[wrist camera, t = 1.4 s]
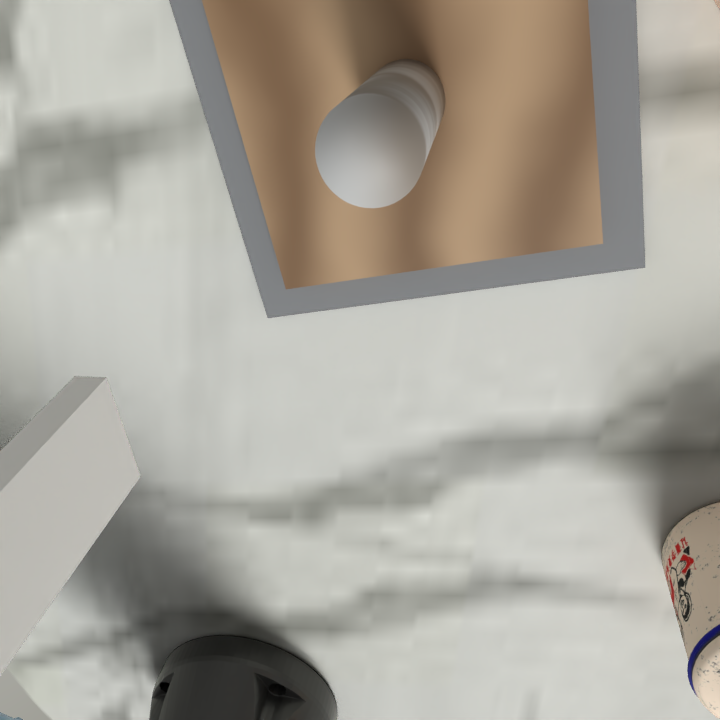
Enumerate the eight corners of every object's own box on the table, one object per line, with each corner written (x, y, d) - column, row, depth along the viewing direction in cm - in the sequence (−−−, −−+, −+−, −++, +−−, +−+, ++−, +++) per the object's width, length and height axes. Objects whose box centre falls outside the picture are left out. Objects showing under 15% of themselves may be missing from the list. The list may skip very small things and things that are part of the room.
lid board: (291, 280, 38) (220, 387, 28) (196, -53, 30) (57, -63, 21) (599, 235, 34) (640, 342, 24) (574, -163, 26) (617, -237, 17)
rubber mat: (270, 313, 40) (267, 318, 39) (146, -92, 31) (140, -93, 30) (643, 263, 34) (645, 267, 34) (624, -242, 25) (627, -246, 25)
